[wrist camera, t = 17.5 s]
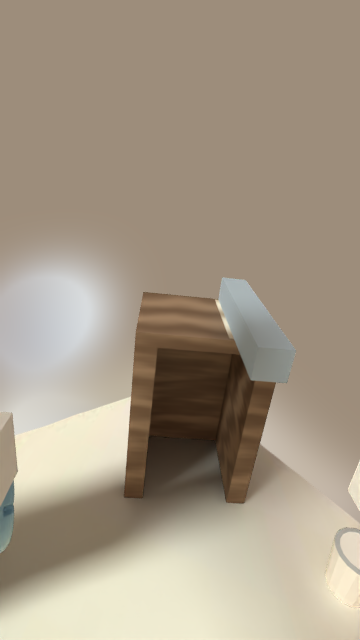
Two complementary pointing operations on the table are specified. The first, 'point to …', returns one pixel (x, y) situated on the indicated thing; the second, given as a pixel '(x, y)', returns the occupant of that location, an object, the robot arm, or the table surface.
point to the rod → (256, 333)
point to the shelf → (193, 389)
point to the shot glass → (345, 567)
